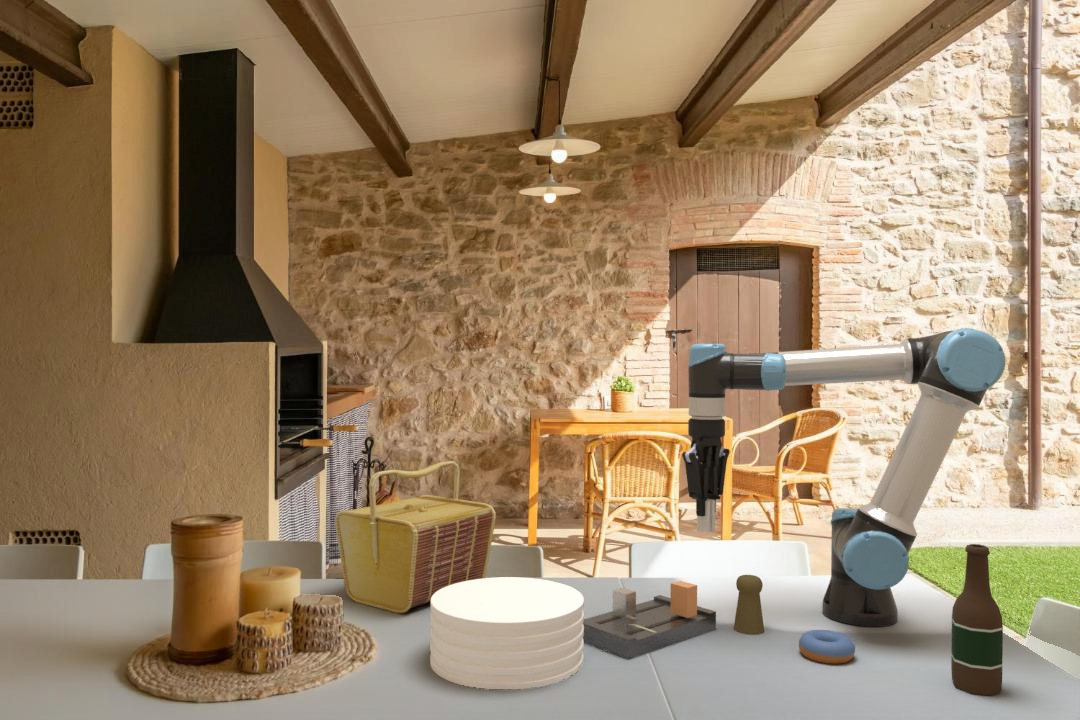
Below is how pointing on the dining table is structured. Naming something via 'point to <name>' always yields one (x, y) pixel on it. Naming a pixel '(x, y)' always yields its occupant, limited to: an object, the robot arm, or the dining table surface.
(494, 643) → the plate stack
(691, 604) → the fader
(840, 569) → the robot arm
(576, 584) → the dining table surface
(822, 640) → the doughnut
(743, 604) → the cork
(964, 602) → the beer bottle
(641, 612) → the slider panel
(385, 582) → the picnic basket
